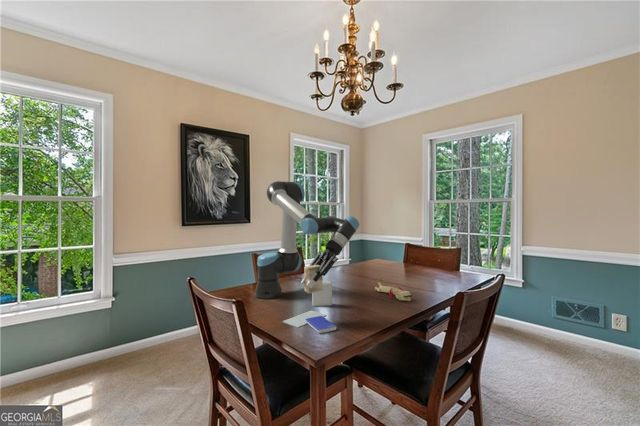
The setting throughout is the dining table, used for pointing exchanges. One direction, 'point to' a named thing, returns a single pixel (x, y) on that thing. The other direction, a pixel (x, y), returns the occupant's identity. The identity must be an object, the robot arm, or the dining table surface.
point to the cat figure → (394, 292)
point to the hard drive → (320, 324)
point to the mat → (302, 318)
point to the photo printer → (323, 295)
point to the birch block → (308, 274)
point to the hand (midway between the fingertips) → (306, 285)
